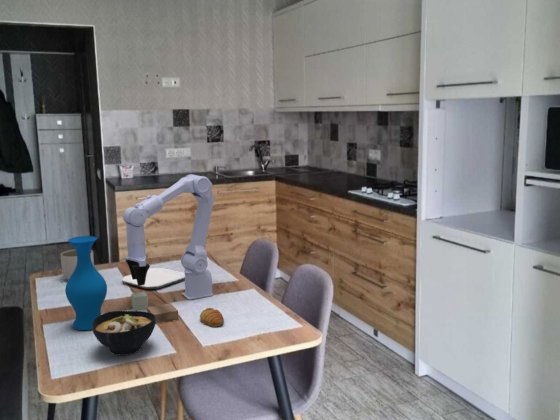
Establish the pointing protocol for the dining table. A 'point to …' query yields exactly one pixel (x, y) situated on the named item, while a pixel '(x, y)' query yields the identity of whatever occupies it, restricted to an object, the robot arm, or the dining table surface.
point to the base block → (163, 313)
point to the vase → (85, 285)
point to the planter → (70, 262)
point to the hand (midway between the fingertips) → (138, 281)
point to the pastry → (211, 317)
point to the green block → (139, 301)
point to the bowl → (123, 330)
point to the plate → (157, 278)
